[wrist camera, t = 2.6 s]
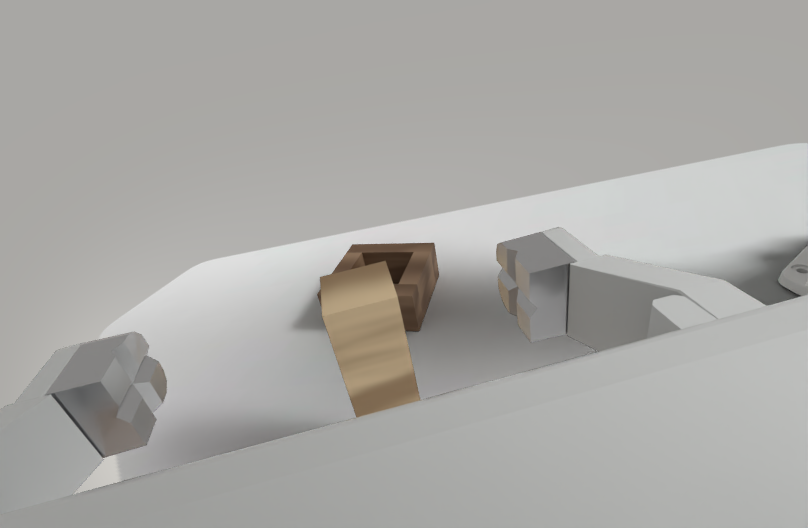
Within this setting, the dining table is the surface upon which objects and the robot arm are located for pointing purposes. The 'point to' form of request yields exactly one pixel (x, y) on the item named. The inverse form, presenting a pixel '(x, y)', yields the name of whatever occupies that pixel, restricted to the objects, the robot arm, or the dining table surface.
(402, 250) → the wooden square ring
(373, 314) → the light wooden block
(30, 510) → the robot arm
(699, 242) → the dining table surface
